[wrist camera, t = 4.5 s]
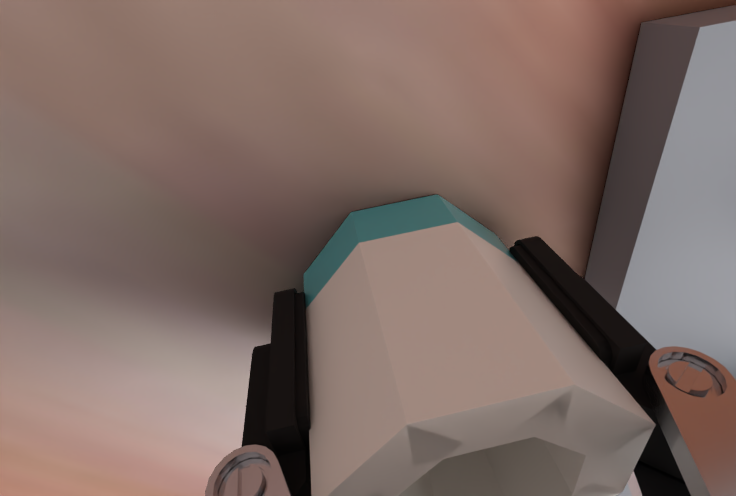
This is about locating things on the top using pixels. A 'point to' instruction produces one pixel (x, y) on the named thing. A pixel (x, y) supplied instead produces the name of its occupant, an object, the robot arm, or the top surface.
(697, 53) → the pin board
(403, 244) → the sleeve
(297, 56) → the top surface
